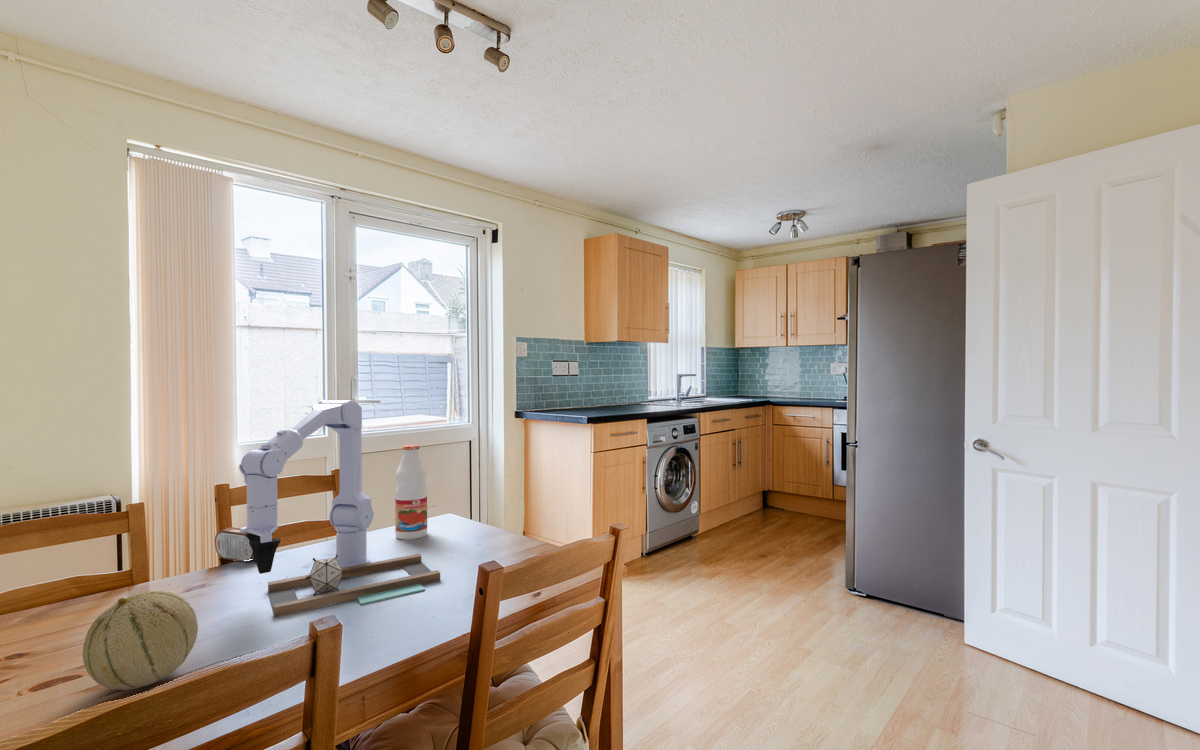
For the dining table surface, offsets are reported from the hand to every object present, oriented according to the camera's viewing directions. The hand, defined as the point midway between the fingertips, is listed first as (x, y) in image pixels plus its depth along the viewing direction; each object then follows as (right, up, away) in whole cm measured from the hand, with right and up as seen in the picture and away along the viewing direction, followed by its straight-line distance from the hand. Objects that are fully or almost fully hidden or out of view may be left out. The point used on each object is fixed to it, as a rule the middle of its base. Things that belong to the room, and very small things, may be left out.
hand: (262, 567), depth 122 cm
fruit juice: (+15, -8, +51) cm, 54 cm away
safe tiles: (+20, -8, +15) cm, 26 cm away
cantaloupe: (-2, -9, -30) cm, 31 cm away
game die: (+10, -9, +8) cm, 15 cm away
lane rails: (+15, -8, +11) cm, 21 cm away
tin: (-25, -9, +30) cm, 40 cm away
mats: (+15, -8, +11) cm, 21 cm away
